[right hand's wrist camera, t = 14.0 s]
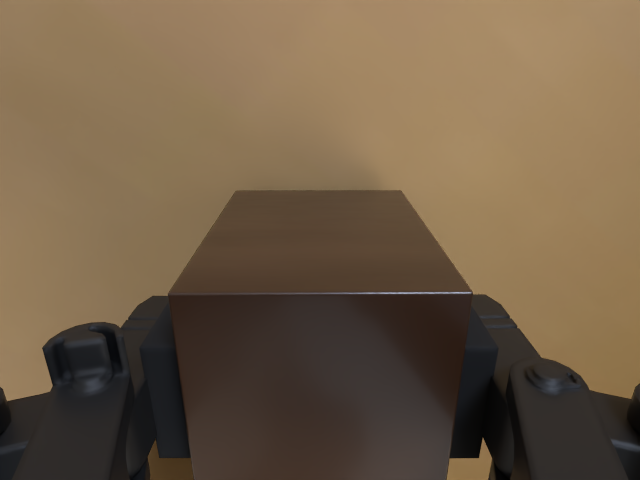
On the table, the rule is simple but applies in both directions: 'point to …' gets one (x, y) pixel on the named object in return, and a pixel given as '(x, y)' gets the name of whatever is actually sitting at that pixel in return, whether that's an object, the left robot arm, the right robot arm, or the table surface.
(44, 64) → the table surface
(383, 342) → the walnut beam
